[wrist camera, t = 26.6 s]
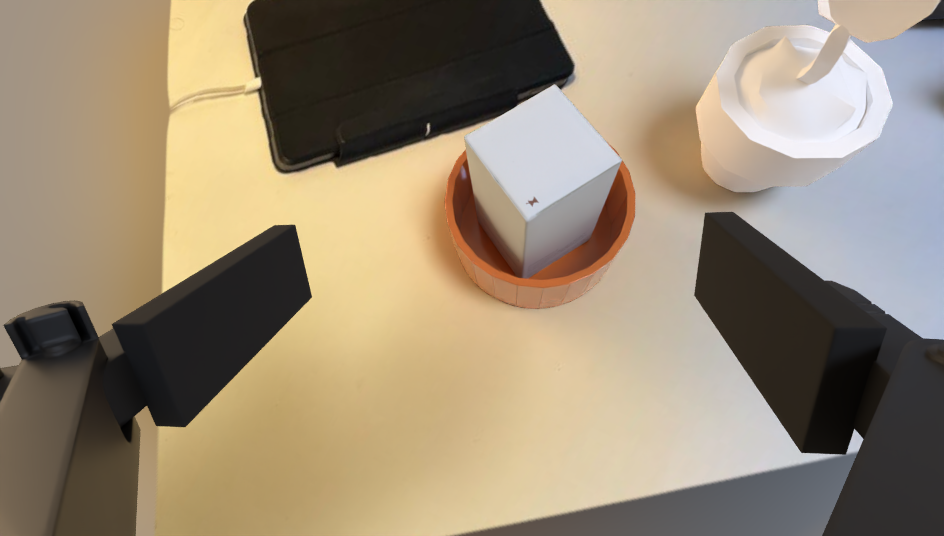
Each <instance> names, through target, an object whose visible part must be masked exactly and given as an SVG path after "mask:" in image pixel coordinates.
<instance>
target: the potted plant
mask: <svg viewBox="0 0 944 536" xmlns="http://www.w3.org/2000/svg"><path fill="white" fill-rule="evenodd" d="M940 1H941V0H818V10H819V14H820V15H821V16H823V17H825V18H826V19H828V20H830V21H831V22H833V23H835V24H836V25H835V26H834V28H833V30H832V31H831V33H830V32H827V31H824V30H822V29H819V28H816V27H813V26H810V25H794V26H766V27H764V28H762V29H760V30H758V31H756V32H754V33H753V34H751V35H749V36H747V37H745V38H743V39H741V40H739V41H737V42H735V43H733V44H732V46H731V47H730V49H729V51H728V52H727V54H726V56H725V57H724V59H723V61H722V62H721V64H720V66H719V68H718V69H717V71H716V73H715V74H714V76H713V78H712V79H711V81H710V83H709V85H708V86H707V88H706V90H705V92H704V94H703V95H702V97H701V99H700V101H699V103H698V104H697V106H696V115H697V122H698V129H699V136H700V141H701V142H702V144H701V157H702V164H703V169H704V170H705V172H706V173H707V174H708V175H709V176H710V178H711V179H712V180H713V181H714V182H715V184H717V185H720V186H722V187H724V188H726V189H729V190H731V191H733V192H757V191H760V190H763V189H767V188H770V187H774V186H808V185H810V184H811V183H813V182H815V181H817V180H819V179H820V178H822V177H824V176H826V175H828V174H829V173H831V172H833V171H835V170H837V169H838V168H840V167H841V166H842V165H844V164H845V163H846V162H848V161H849V160H850V159H852V158H853V157H854V156H855V155H857V154H858V153H859V152H861V151H862V150H863V149H865V148H866V147H867V146H868V145H870V144H871V143H872V142H874V141H875V140H876V139H878V138H879V136H880V134H881V131H882V129H883V127H884V124H885V122H886V120H887V117H888V115H889V113H890V110H891V108H892V106H893V103H892V99H891V96H890V93H889V89H888V86H887V83H886V80H885V76H884V73H883V70H882V68H881V67H880V66H879V65H878V64H877V63H876V62H874V61H873V60H872V59H871V58H870V57H869V56H868V55H867V54H866V53H865V52H864V51H863V50H861V49H860V48H859V47H858V46H857V45H856V44H855V43H854V42H853V41H852V40H850V38H851V35H852V36H854V37H856V38H858V39H860V40H862V41H864V42H866V43H867V42H874V41H880V40H886V39H892V38H895V37H896V36H898V35H899V34H901V33H902V32H904V31H906V30H907V29H909V28H910V27H912V26H913V25H915V24H916V23H918V22H920V21H921V20H923V19H924V18H926V17H927V16H929V15H930V14H931V13H932V12H933V11H934V10H935V8H936V7H937V5H938V4H939V2H940Z"/></svg>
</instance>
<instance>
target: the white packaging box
mask: <svg viewBox="0 0 944 536" xmlns="http://www.w3.org/2000/svg"><path fill="white" fill-rule="evenodd" d="M464 140H465V147H466V153H467V160H468V165H469V171H470V177H471V182H472V188H473V194H474V200H475V206H476V213H477V220H478V222H479V223H480V225H481V226H482V228H483V229H484V231H485V232H486V234H487V235H488V236H489V238H490V239H491V241H492V242H493V244H494V245H495V246H496V248H497V249H498V251H499V252H500V253H501V255H502V256H503V258H504V259H505V260H506V262H507V263H508V265H509V266H510V267H511V269H512V270H513V272H514V273H515V274H516V276H517V277H518V278H526V279H528V278H530V277H531V276H533V275H534V274H536V273H538V272H539V271H541V270H542V269H544V268H546V267H547V266H549V265H550V264H552V263H553V262H555V261H557V260H558V259H560V258H561V257H563V256H564V255H566V254H568V253H569V252H571V251H572V250H574V249H576V248H577V247H579V246H580V245H582V244H584V243H585V242H587V241H588V240H589V239H590V238H591V235H592V233H593V230H594V228H595V225H596V223H597V221H598V218H599V216H600V213H601V211H602V208H603V206H604V203H605V201H606V199H607V196H608V194H609V191H610V189H611V186H612V184H613V181H614V179H615V176H616V174H617V171H618V169H619V167H620V164H621V162H622V159H621V158H620V157H619V156H618V154H617V153H616V152H615V151H614V150H613V149H612V148H611V147H610V146H609V144H608V143H607V142H606V141H605V140H604V139H603V138H602V136H601V135H600V134H599V133H598V132H597V131H596V130H595V129H594V127H593V126H592V125H591V124H590V123H589V122H588V121H587V120H586V118H585V117H584V116H583V115H582V114H581V113H580V112H579V111H578V109H577V108H576V107H575V106H574V105H573V104H572V103H571V101H570V100H569V99H568V98H567V97H566V96H565V95H564V93H563V92H562V91H561V90H560V89H559V88H558V87H557V85H553V86H551V87H549V88H548V89H546V90H544V91H542V92H541V93H539V94H537V95H536V96H534V97H532V98H530V99H529V100H527V101H525V102H524V103H522V104H520V105H518V106H517V107H515V108H513V109H512V110H510V111H508V112H507V113H505V114H503V115H501V116H499V117H498V118H496V119H494V120H492V121H490V122H489V123H487V124H485V125H483V126H481V127H480V128H478V129H476V130H474V131H472V132H471V133H469V134H467V135H465V137H464Z"/></svg>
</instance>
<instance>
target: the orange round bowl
mask: <svg viewBox="0 0 944 536" xmlns="http://www.w3.org/2000/svg"><path fill="white" fill-rule="evenodd" d="M609 146H610V145H609ZM610 147H611V146H610ZM611 148H612V147H611ZM612 149H613V150H614V151H615V152H616V153H617V151H616V150H615V149H614V148H612ZM617 154H618V153H617ZM618 156H619V154H618ZM619 157H620V156H619ZM445 209H446V216H447V223H448V226H449V229H450V233H451V236H452V239H453V242H454V245H455V249H456V252H457V254H458V256H459V258H460V261H461V263H462V265H463V267H464V269H465V271H466V272H467V273H468V275H469V276H470V278H471V279H472V280H473V281H474V282H475V283H476V284H477V285H478V286H479V287H480V288H481V289H482V290H484V291H485V292H486V293H487V294H489V295H491V296H492V297H494V298H496V299H498V300H500V301H502V302H505V303H507V304H511V305H514V306H518V307H524V308H538V309H539V308H550V307H554V306H559V305H562V304H565V303H568V302H571V301H573V300H575V299H576V298H578V297H580V296H582V295H583V294H585V293H586V292H588V291H589V290H590V289H591V288H592V287H593V286H594V285H595V284H597V283H598V282H599V281H600V279H601V278H602V276H603V275H604V274H605V272H606V271H607V269H608V268H609V266H610V265H611V263H612V262H613V260H614V259H615V257H616V256H617V254H618V252H619V251H620V249H621V248H622V246H623V245H624V243H625V242H626V240H627V238H628V236H629V233H630V230H631V227H632V223H633V220H634V217H635V190H634V187H633V183H632V180H631V176H630V173H629V170H628V169H627V167H626V166H625V164H624V162H623V161H622V162H621V164H620V167H619V169H618V171H617V174H616V176H615V179H614V181H613V184H612V186H611V189H610V191H609V194H608V196H607V199H606V201H605V203H604V206H603V208H602V211H601V213H600V216H599V218H598V221H597V223H596V225H595V228H594V230H593V233H592V235H591V238H590V239H589V240H588V241H587V242H585V243H584V244H582V245H580V246H579V247H577V248H576V249H574V250H572V251H571V252H569V253H568V254H566V255H564V256H563V257H561V258H560V259H558V260H557V261H555V262H553V263H552V264H550V265H549V266H547V267H546V268H544V269H542V270H541V271H539V272H538V273H536V274H534V275H533V276H531V277H530V278H528V279H526V278H518V277H517V276H516V274H515V273H514V272H513V270H512V269H511V267H510V266H509V265H508V263H507V262H506V260H505V259H504V258H503V256H502V255H501V253H500V252H499V251H498V249H497V248H496V246H495V245H494V244H493V242H492V241H491V239H490V238H489V236H488V235H487V234H486V232H485V231H484V229H483V228H482V226H481V225H480V223H479V222H478V220H477V213H476V206H475V200H474V194H473V188H472V182H471V177H470V171H469V165H468V160H467V153H466V150H465V151H464V152H463V153H462V155H461V156H460V157H459V158H458V160H457V161H456V163H455V165H454V167H453V170H452V172H451V174H450V176H449V178H448V182H447V189H446V195H445Z"/></svg>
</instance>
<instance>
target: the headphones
mask: <svg viewBox="0 0 944 536" xmlns="http://www.w3.org/2000/svg"><path fill="white" fill-rule="evenodd" d="M926 19H944V0H941V1H940V2H939V4H938V5H937V7H936V8H935V10H934V11H933V12H932V13H931V14H930V15H929V16H927V17H926V18H924V19H923V20H926Z"/></svg>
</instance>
